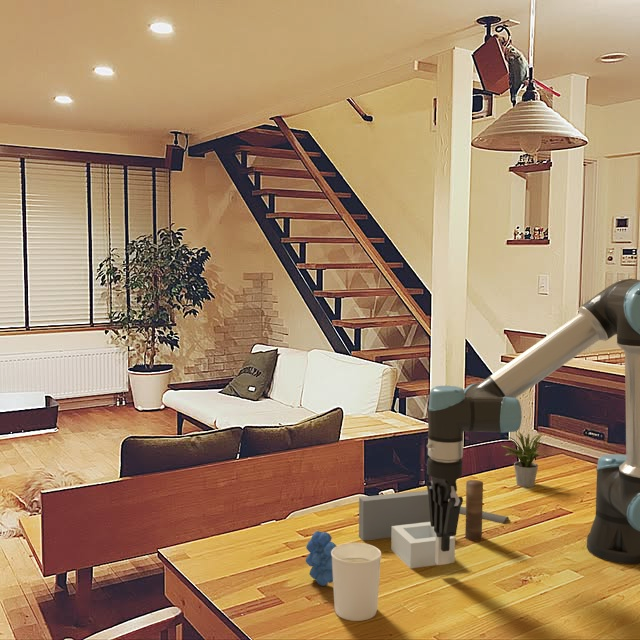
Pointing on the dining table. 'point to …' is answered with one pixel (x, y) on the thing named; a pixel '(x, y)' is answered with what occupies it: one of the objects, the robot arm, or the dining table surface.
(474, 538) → the dowel
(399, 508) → the wall
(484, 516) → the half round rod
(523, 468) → the house plant
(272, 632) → the dining table surface
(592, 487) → the dining table surface
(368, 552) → the candle holder
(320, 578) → the grapes
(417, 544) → the white square open box
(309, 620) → the dining table surface
